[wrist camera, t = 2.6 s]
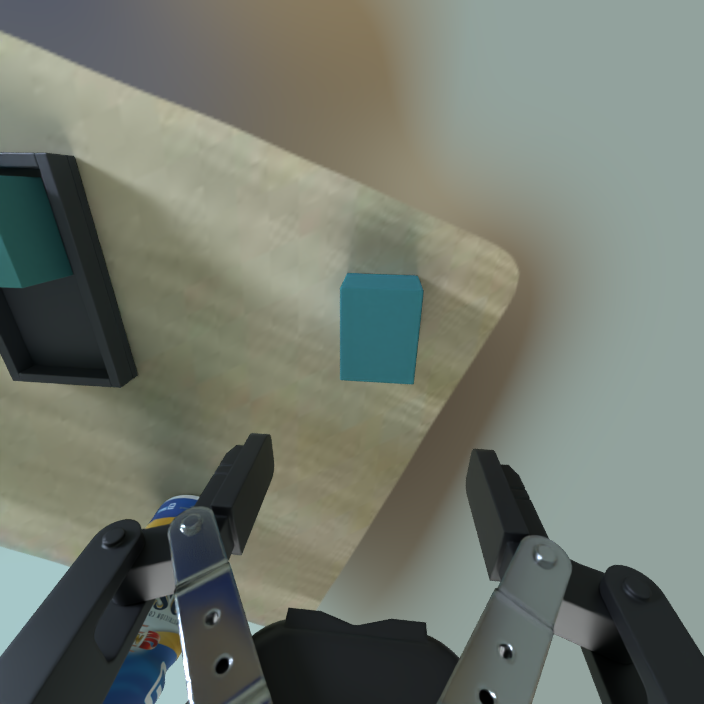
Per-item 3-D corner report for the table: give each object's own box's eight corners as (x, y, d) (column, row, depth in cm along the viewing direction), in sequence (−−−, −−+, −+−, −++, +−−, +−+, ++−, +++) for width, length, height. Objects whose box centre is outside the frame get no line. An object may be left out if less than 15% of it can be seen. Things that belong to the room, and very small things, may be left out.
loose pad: (418, 275, 24) (424, 290, 20) (410, 358, 26) (413, 384, 23) (347, 272, 24) (340, 286, 20) (346, 355, 27) (340, 380, 23)
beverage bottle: (149, 520, 38) (-69, 820, 20) (178, 478, 34) (-52, 791, 16) (215, 555, 39) (70, 863, 21) (249, 517, 36) (111, 844, 18)
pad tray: (74, 155, 22) (45, 152, 21) (138, 375, 29) (120, 388, 28) (-57, 154, 23) (-96, 151, 21) (36, 369, 30) (12, 381, 28)
